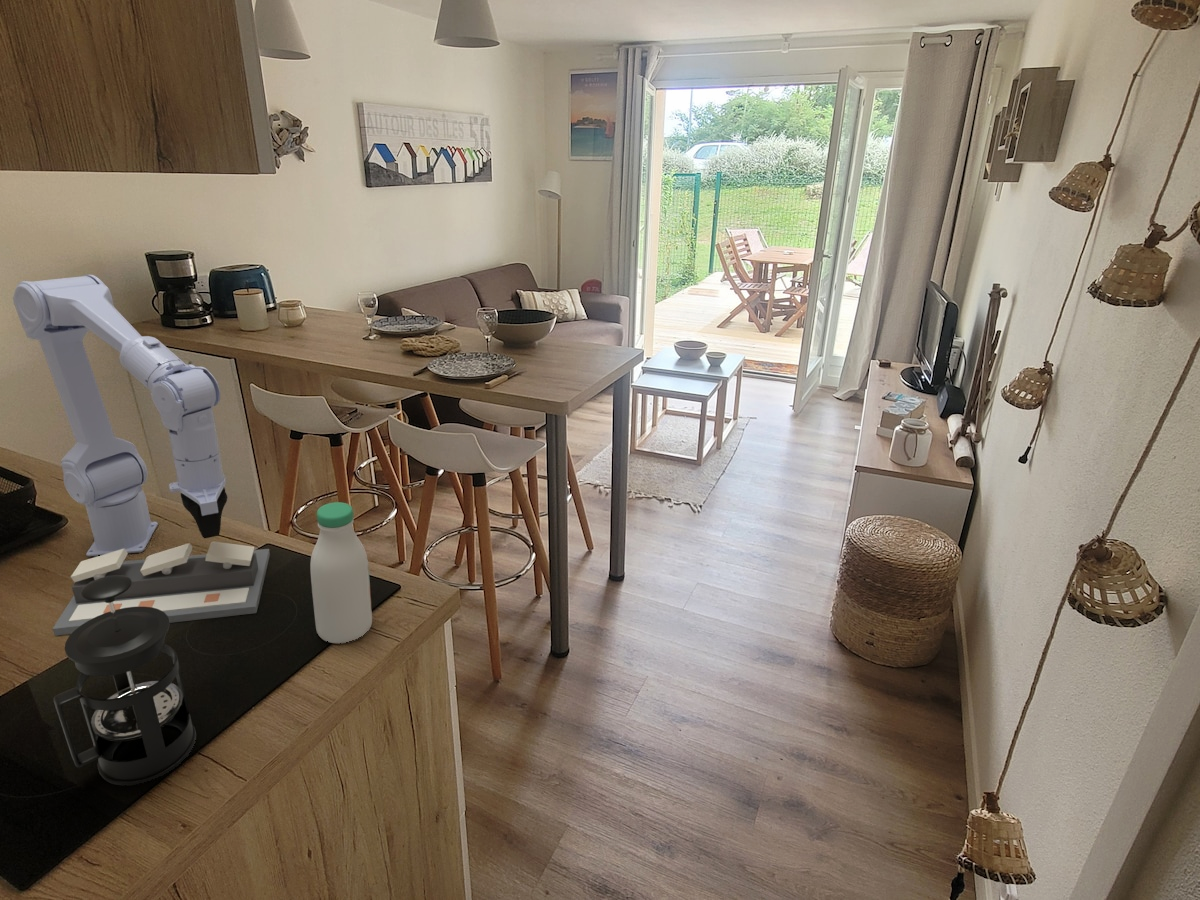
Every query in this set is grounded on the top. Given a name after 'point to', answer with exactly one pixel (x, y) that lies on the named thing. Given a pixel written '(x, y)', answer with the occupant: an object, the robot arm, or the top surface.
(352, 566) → the milk bottle
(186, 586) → the switch panel
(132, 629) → the french press
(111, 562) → the switch near
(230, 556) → the switch far
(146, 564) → the switch middle
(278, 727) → the top surface
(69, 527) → the top surface
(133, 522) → the robot arm
